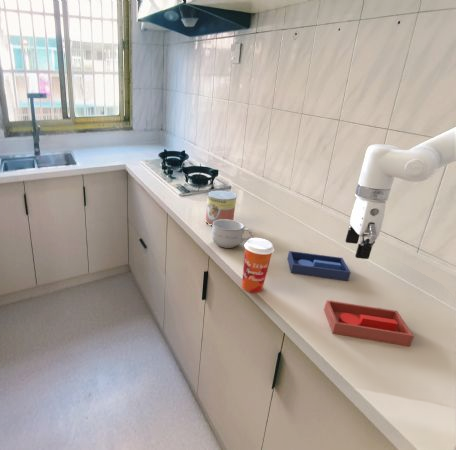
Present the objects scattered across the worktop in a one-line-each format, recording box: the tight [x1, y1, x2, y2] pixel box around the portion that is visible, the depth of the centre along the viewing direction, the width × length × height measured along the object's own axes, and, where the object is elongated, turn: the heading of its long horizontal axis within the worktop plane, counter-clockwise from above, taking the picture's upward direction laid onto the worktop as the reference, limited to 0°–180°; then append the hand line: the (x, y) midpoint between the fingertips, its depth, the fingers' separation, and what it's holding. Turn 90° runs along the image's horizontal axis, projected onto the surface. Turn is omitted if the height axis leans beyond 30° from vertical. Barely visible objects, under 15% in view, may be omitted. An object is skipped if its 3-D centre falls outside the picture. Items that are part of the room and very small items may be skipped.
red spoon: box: [339, 313, 398, 331], centre depth 81 cm, size 12×5×2 cm, turn 77°
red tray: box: [323, 299, 415, 347], centre depth 81 cm, size 16×9×3 cm, turn 77°
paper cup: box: [241, 237, 275, 294], centre depth 93 cm, size 8×8×14 cm
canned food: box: [205, 189, 238, 225], centre depth 136 cm, size 11×11×12 cm
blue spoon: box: [298, 260, 341, 270], centre depth 105 cm, size 12×5×2 cm, turn 77°
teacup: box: [211, 219, 254, 249], centre depth 118 cm, size 14×11×8 cm
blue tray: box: [287, 250, 352, 282], centre depth 106 cm, size 16×9×3 cm, turn 77°
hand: (356, 250), depth 96 cm, fingers open, 9 cm apart
